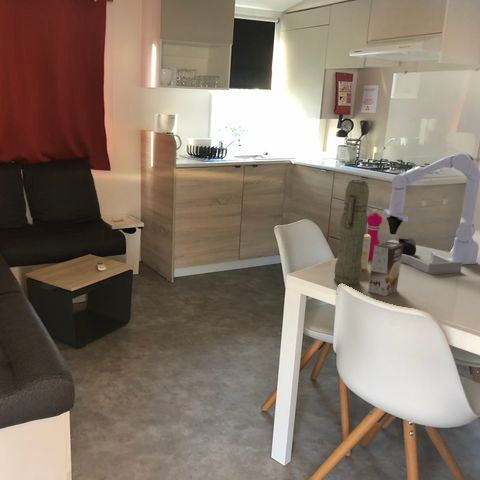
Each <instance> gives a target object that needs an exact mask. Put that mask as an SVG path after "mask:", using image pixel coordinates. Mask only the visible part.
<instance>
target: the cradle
mask: <svg viewBox="0 0 480 480" xmlns="http://www.w3.org/2000/svg"><path fill="white" fill-rule="evenodd" d="M447 258H448V257H444V256H442V255H440V254H438V253H437V252H434V251H431V252H430V257H429V260H430V261H432V262H429V263H428V262H426V261H424V260H421V259H419V258H416V257H414V256H409V255H405V254H402V258H401V263H403V264H406V265H410V266H412V267H414V268H416V269H418V270H420V271H422V272H425V273H426V274H428V275H440V274H441V275H443V274H454V273H456V274H457V273H461V271H462V267H463V265H462V262H461V261H452V260H449V259H447Z"/></svg>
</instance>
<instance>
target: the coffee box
mask: <svg viewBox="0 0 480 480" xmlns="http://www.w3.org/2000/svg"><path fill="white" fill-rule="evenodd" d="M402 251H403V245H402V244H399V242H393V241H388V240H386V241H383V242H379V244H376V245H374V252H373V260H371V268H370V277H369V284H368V291H367V292H369V293H373V294H377V295H379V296H382V297H386V296H389V295H390V294H392V293H394V292H396V291H397V290H398V285H399V279H400V278H399V277H400V271H401V263H402V262H401V258H402Z"/></svg>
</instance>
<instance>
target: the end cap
mask: <svg viewBox="0 0 480 480" xmlns="http://www.w3.org/2000/svg"><path fill="white" fill-rule="evenodd" d="M398 244H402V245H403V251H402V254H405V255H409V256H412V257H414V256H415V255H416V253H417V246H416V244H417V243H416V241H415V239H413V238H412V237H408V238H407V239H406V238H400V237H399V238H398Z"/></svg>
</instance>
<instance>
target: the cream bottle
mask: <svg viewBox="0 0 480 480" xmlns="http://www.w3.org/2000/svg"><path fill="white" fill-rule="evenodd" d="M370 241H371V237H370V235H369V234H367V233H366V234H365V236H364V240H363V248H362V257H361V264H362V270H361V271H368V267H369V266H368V265H369V260H368V258H369V249H370Z"/></svg>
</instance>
